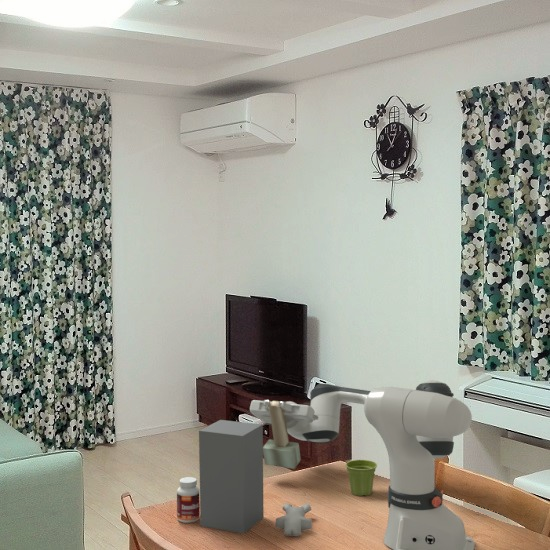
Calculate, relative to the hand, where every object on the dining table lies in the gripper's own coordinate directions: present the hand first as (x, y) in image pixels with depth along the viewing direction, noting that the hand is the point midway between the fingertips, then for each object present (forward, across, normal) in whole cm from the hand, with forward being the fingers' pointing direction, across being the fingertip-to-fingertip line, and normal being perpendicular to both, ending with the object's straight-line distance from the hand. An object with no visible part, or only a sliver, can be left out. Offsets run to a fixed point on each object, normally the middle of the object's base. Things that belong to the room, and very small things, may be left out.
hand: (273, 403), depth 239 cm
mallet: (-10, 0, -5) cm, 12 cm away
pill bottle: (+13, +12, -38) cm, 42 cm away
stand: (+10, 0, -37) cm, 38 cm away
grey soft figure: (+7, -17, -35) cm, 40 cm away
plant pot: (-20, -25, -19) cm, 37 cm away
